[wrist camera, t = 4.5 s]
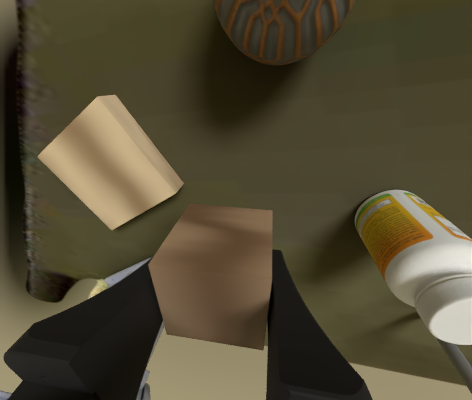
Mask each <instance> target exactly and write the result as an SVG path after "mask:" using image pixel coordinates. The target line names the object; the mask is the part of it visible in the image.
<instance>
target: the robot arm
mask: <svg viewBox="0 0 472 400" xmlns="http://www.w3.org/2000/svg"><path fill="white" fill-rule="evenodd" d="M153 257H154V256H153ZM153 257H152V258H153ZM152 258H148V259H146V260H144V261H142V262H139V263H137V264H135V265H133V266H131V267H128V268H126V269H124V270H122V271H120V272H117V273H115V274H113V275H111V276H109V277H107V278H106V279H105V282H106V283H107V284H108V285H109V286H108V287H107V289H106V290H104V291H102V292H100V293H99V294H97V295H95V296H93V297H92V298H90V299H88V300H86V301H84V302H82V303H80V304H78V305H76V306H74V307H71V308H69V309H67V310H65V311H63V312H61V313H58V314H56V315H53V316H51V317H49V318H47V319H44V320H41V321H39V322H36V323H34V324H33V325H32V326H31V327H30V328H29V329H28V330H27V331H26V332H25V333H24V334H23V335H22V336H21V337H20V338H19V339H18V340H17V341H16V342H15V343H14V344H13V345H12V346H11V348H9V349H8V351H7V352H6V353H5V354H4V361H5V363H6V364H7V365H8V366H9V367H10V368H11V369H12V370H13V371H14V372H15V373H16V374H17V375H18V376H19V377H20V378H21V379H22V380H23V381H22V382H21V384H20V385H19V386H18V387H17V388H16V390H15V391H14V392H13V393H8V392H3V391H0V400H150V387H149V385H148V384H147V383H146V380H147V378H148V375H149V373H150V372H149V371H148V370H146V367H147V364H148V362H149V360H150V358H151V355H152V353H153V351H154V348H155V346H156V344H157V342H158V339H159V337H160V335H161V333H162V330H163V328H164V326H165V325H164V322H163V318H162V314H161V311H160V307H159V303H158V300H157V296H156V292H155V288H154V285H153V281H152V277H151V274H150V270H149V266H148V264H149V263H150V261H151V260H152ZM267 322H268V364H267V393H266V400H372V397H371V395H370V393H369V390H368V388H367V386H366V384H365V382H364V380H363V379H362V378H361V376H360V375H359V374H358V373H357V372H356V371H355V370H354V369H353V368H352V366H351V365H350V364H349V363H348V362H347V361H346V359H345V358H344V357H343V356H342V355H341V353H340V352H339V351H338V350H337V349H336V347H335V346H334V345H333V344H332V342H331V341H330V340H329V338H328V337H327V336H326V334H325V333H324V332H323V330H322V329H321V328H320V326H319V325H318V323H317V322H316V320H315V319H314V317H313V316H312V314H311V313H310V311H309V310H308V308H307V306H306V305H305V303H304V301H303V300H302V298H301V296H300V294H299V292H298V290H297V288H296V286H295V284H294V282H293V280H292V278H291V276H290V274H289V271H288V269H287V266H286V264H285V261H284V258H283V254H282V252H281V250H272V284H271V292H270V300H269V308H268V316H267Z"/></svg>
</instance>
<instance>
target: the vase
mask: <svg viewBox="0 0 472 400" xmlns="http://www.w3.org/2000/svg"><path fill="white" fill-rule="evenodd" d="M355 2H356V0H213V4H214V7H215V11H216V14H217V17H218V19H219V22H220V24H221V26H222V28H223V30H224V31H225V33H226V35H227V36H228V38H229V39H230V40H231V42H232V43H233V44H234V45H235V46H236V47H237V48H238V49H239V50H240V51H241V52H242V53H243V54H245V55H246V56H247V57H249V58H251V59H253V60H255V61H257V62H260V63H263V64H267V65H286V64H291V63H294V62H297V61H300V60H302V59H304V58H306V57H308V56H310V55H311V54H313V53H314V52H316V51H317V50H318V49H320V48H321V47H322V46H323V45H324V44H325V43H327V42H328V41H329V40H330V39H331V37H332V36H333V35H334V34H335V33H336V32H337V31H338V29H339V28H340V27H341V25H342V24H343V23H344V21H345V20H346V18H347V16H348V15H349V13H350V11H351V9H352V8H353V6H354V4H355Z"/></svg>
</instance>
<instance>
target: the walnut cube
mask: <svg viewBox="0 0 472 400" xmlns="http://www.w3.org/2000/svg"><path fill="white" fill-rule="evenodd" d="M148 266H149V270H150V274H151V277H152V281H153V285H154V288H155V292H156V296H157V300H158V303H159V307H160V311H161V314H162V318H163V322H164V325H165V329H166V332H167V334H168V335H175V336H180V337H186V338H192V339H198V340H205V341H210V342H217V343H223V344H228V345H234V346H241V347H247V348H253V349H259V350H263V349H264V341H265V333H266V324H267V316H268V308H269V300H270V292H271V284H272V210H260V209H248V208H236V207H223V206H211V205H199V204H189V205H188V207H187V208H186V210H185V211H184V213H183V214H182V215H181V217H180V218H179V220H178V221H177V223H176V224H175V226H174V227H173V229H172V230H171V232H170V233H169V235H168V236H167V238H166V239H165V241H164V242H163V243H162V245H161V246H160V248H159V249H158V251H157V252H156V254H155V255H154V257H153V258H152V260H151V261H150V263H149V264H148Z"/></svg>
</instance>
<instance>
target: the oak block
mask: <svg viewBox="0 0 472 400" xmlns="http://www.w3.org/2000/svg"><path fill="white" fill-rule="evenodd" d="M37 157H38V158H39V159H40V160H41V161H42V162H43V163H44V164H45V165H46V166H47V167H48V168H49V169H50V170H51V171H52V172H53V173H54V174H55V175H56V176H57V177H58V178H59V179H60V180H61V181H62V182H63V183H64V184H65V185H66V186H67V187H68V188H69V189H70V190H71V191H72V192H73V193H75V194H76V195H77V196H78V197H79V198H80V199H81V200H82V201H83V202H84V203H85V204H86V205H87V206H88V207H89V208H90V209H91V210H92V211H93V212H94V213H95V214H96V215H97V216H98V217H99V218H100V219H101V220H102V221H103V222H104V223H105V224H106V225H107V226H108V227H109V228H110V229H111V230H113V229H115V228H117V227H119V226H120V225H122V224H124V223H126V222H127V221H129V220H131V219H133V218H134V217H136V216H138V215H139V214H141V213H143V212H145V211H146V210H148V209H150V208H152V207H153V206H155V205H157V204H159V203H160V202H162V201H164V200H165V199H167V198H169V197H171V196H172V195H174V194H176V193H177V191H178V190H179V189H180V188H181V187H182V186H183V184H184V183H183V182H182V181H181V179H180V178H179V177H178V175H177V174H176V173H175V171H174V170H173V169H172V168H171V166H170V165H169V164H168V162H167V161H166V160H165V159H164V157H163V156H162V155H161V153H160V152H159V151H158V149H157V148H156V147H155V146H154V144H153V143H152V142H151V140H150V139H149V138H148V136H147V135H146V134H145V133H144V131H143V130H142V129H141V127H140V126H139V125H138V123H137V122H136V121H135V120H134V118H133V117H132V116H131V114H130V113H129V112H128V111H127V109H126V108H125V107H124V105H123V104H122V103H121V101H120V100H119V99H118V98H117V96H116V95H109V96H99V97H97V98H96V99H95V100H94V101H93V102H92V103H91V104H90V105H89V106H88V107H87V108H86V109H85V110H84V111H83V112H82V113H81V114H80V115H78V116H77V117H76V118H75V119H74V120H73V121H72V122H71V123H70V124H69V125H68V126H67V127H66V128H65V129H64V130H63V131H62V132H61V133H60V134H59V135H58V136H57V137H56V138H55V139H54V140H53V141H52V142H51V143H50V144H49V145H48V146H47V147H46V148H45V149H44V150H43V151H42V152H41V153H40V154H39V155H38V156H37Z"/></svg>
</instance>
